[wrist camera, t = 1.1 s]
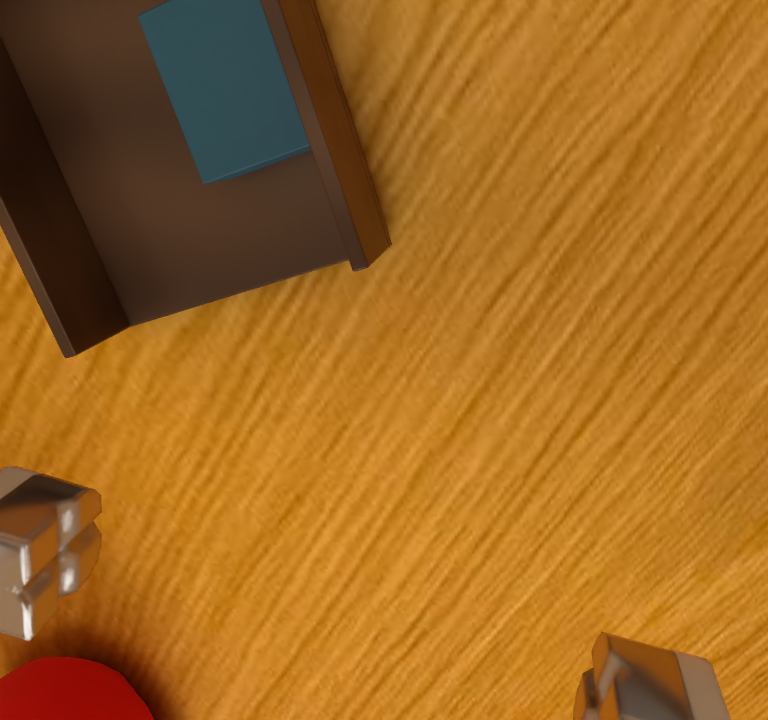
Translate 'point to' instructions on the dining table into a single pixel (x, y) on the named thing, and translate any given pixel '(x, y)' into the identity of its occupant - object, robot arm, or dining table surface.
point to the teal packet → (225, 84)
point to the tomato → (69, 692)
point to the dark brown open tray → (161, 174)
